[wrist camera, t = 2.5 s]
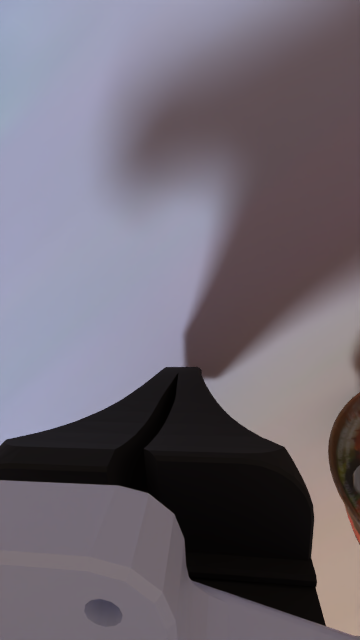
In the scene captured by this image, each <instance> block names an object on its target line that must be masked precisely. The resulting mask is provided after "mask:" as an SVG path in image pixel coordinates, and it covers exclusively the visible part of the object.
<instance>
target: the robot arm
mask: <svg viewBox="0 0 360 640" xmlns="http://www.w3.org/2000/svg"><path fill="white" fill-rule="evenodd" d="M313 527H314V512H313V504H312V501H311V498H310V495H309V492H308V489H307V487H306V485H305V483H304V481H303V478H302V476H301V475H300V473H299V471H298V469H297V467H296V465H295V463H294V462H293V460H292V458H291V457H290V455H289V453H288V452H287V450H286V449H285V447H283V446H281V445H278V444H276V443H274V442H272V441H269V440H267V439H265V438H262V437H260V436H258V435H257V434H255V433H253V432H251V431H250V430H248V429H246V428H245V427H243V426H242V425H240V424H239V423H238V422H237V421H235V420H234V419H233V418H231V417H230V416H229V415H228V414H227V413H226V412H225V411H224V410H223V409H222V408H221V406H220V405H219V404H218V403H217V401H216V400H215V399H214V397H213V396H212V394H211V393H210V391H209V389H208V388H207V386H206V384H205V382H204V380H203V378H202V375H201V369H200V368H199V367H166V368H164V369H163V370H161V371H160V372H159V373H158V374H156V375H155V376H154V377H153V378H151V379H150V380H149V381H148V382H146V383H145V384H144V385H143V386H141V387H140V388H138V389H137V390H135V391H134V392H132V393H131V394H130V395H128V396H127V397H125V398H124V399H122V400H120V401H119V402H117V403H115V404H113V405H111V406H109V407H108V408H106V409H104V410H102V411H99V412H97V413H95V414H92V415H90V416H88V417H85V418H83V419H81V420H78V421H75V422H72V423H70V424H67V425H64V426H60V427H57V428H54V429H50V430H47V431H43V432H39V433H34V434H30V435H26V436H21V437H17V438H12V439H7V440H5V441H4V442H3V443H2V445H1V446H0V640H360V636H353V635H350V634H347V633H344V632H341V631H338V630H335V629H332V628H330V627H327V626H326V625H325V621H324V617H323V614H322V610H321V606H320V603H319V599H318V595H317V592H316V588H315V587H316V585H317V579H316V574H315V570H314V567H313V563H312V560H311V551H312V539H313Z"/></svg>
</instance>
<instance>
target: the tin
mask: <svg viewBox="0 0 360 640" xmlns="http://www.w3.org/2000/svg"><path fill="white" fill-rule="evenodd" d="M328 454H329V464H330V470H331V474H332V477H333V481H334V483H335V485H336V488H337V490H338V493H339V495H340V497H341V498H342V500H343V502H344V504H345V508H346V511H347V515H348V518H349V520H350V523H351V526H352V528H353V531H354V533H355V536H356V538H357V540H358V542H359V544H360V393H358V394H357V395H356V396H354V397H353V398H352V399H351V400H350V401H349V402H348V403H347V404H346V405H345V406H344V408H343V409H342V410H341V412H340V413H339V415H338V417H337V418H336V420H335V422H334V425H333V427H332V430H331V434H330V438H329V448H328Z"/></svg>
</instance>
